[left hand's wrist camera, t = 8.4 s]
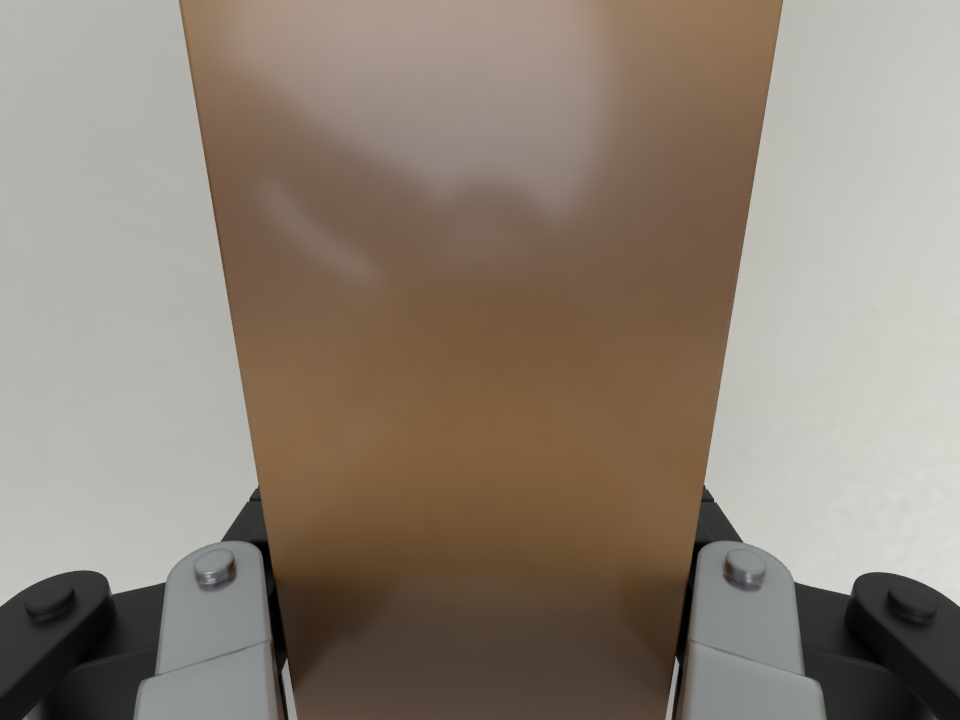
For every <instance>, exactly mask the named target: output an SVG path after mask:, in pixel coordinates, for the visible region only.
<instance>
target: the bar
mask: <svg viewBox="0 0 960 720" xmlns="http://www.w3.org/2000/svg"><path fill="white" fill-rule="evenodd" d="M179 3H180V9H181V16H182V22H183V28H184V34H185V40H186V46H187V52H188V58H189V64H190V70H191V76H192V82H193V88H194V94H195V101H196V107H197V113H198V119H199V125H200V131H201V137H202V143H203V149H204V155H205V161H206V167H207V173H208V179H209V186H210V192H211V198H212V204H213V210H214V216H215V222H216V228H217V234H218V240H219V246H220V252H221V258H222V264H223V271H224V277H225V283H226V289H227V295H228V301H229V307H230V313H231V319H232V325H233V331H234V337H235V343H236V349H237V356H238V362H239V368H240V374H241V380H242V386H243V392H244V398H245V404H246V410H247V416H248V422H249V428H250V434H251V441H252V447H253V453H254V459H255V465H256V471H257V477H258V483H259V489H260V495H261V501H262V507H263V513H264V519H265V526H266V532H267V538H268V544H269V550H270V556H271V562H272V568H273V574H274V580H275V586H276V592H277V598H278V604H279V611H280V617H281V623H282V629H283V635H284V641H285V647H286V653H287V659H288V665H289V671H290V677H291V683H292V689H293V696H294V702H295V708H296V714H297V720H665V718H666V712H667V706H668V700H669V694H670V688H671V681H672V675H673V669H674V663H675V657H676V651H677V645H678V639H679V633H680V627H681V620H682V614H683V608H684V602H685V596H686V590H687V584H688V578H689V572H690V565H691V559H692V553H693V547H694V541H695V535H696V529H697V523H698V517H699V511H700V504H701V498H702V492H703V486H704V480H705V474H706V468H707V462H708V456H709V449H710V443H711V437H712V431H713V425H714V419H715V413H716V407H717V401H718V394H719V388H720V382H721V376H722V370H723V364H724V358H725V352H726V346H727V340H728V333H729V327H730V321H731V315H732V309H733V303H734V297H735V291H736V285H737V278H738V272H739V266H740V260H741V254H742V248H743V242H744V236H745V230H746V224H747V217H748V211H749V205H750V199H751V193H752V187H753V181H754V175H755V169H756V162H757V156H758V150H759V144H760V138H761V132H762V126H763V120H764V114H765V107H766V101H767V95H768V89H769V83H770V77H771V71H772V65H773V59H774V53H775V46H776V40H777V34H778V28H779V22H780V16H781V10H782V4H783V0H179Z"/></svg>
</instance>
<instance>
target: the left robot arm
mask: <svg viewBox="0 0 960 720" xmlns="http://www.w3.org/2000/svg"><path fill="white" fill-rule="evenodd" d="M676 657H677V660H678V662H679V669H678V675H677V681H676V688H675V696H674V704H673V712H672V720H960V607H959V606H958V605H956V604H955V603H954V602H953V601H951V600H950V599H949V598H947V597H946V596H944V595H943V594H941V593H940V592H938V591H936V590H935V589H933V588H931V587H929V586H927V585H925V584H923V583H921V582H918V581H916V580H913V579H910V578H907V577H904V576H900V575H896V574H891V573H883V572H873V573H867V574H863V575H861V576H859V577H858V578H857V579H856V580H855V582H854V585H853V588H852V592H851V595H846V594H842V593H837V592H833V591H828V590H824V589H819V588H815V587H810V586H806V585H803V584H799V583H796V582H794V580H793V577H792V575H791V573H790V571H789V570H788V569H787V567H786V566H785V565H784V564H783V563H782V562H781V561H779V560H778V559H777V558H776V557H774V556H773V555H771V554H769V553H768V552H766V551H764V550H762V549H760V548H757V547H755V546H752V545H749V544H746V543H743V541H742V540H741V538H740V537H739V535H738V534H737V532H736V531H735V529H734V528H733V526H732V525H731V523H730V522H729V521H728V519H727V518H726V516H725V515H724V513H723V512H722V510H721V509H720V507H719V506H718V504H717V503H716V502H714V498H713V497H712V495H711V494H710V493H709V491H708V490H707V489H705V485H704V486H703V492H702V498H701V504H700V511H699V517H698V523H697V529H696V535H695V541H694V547H693V553H692V559H691V565H690V572H689V578H688V584H687V590H686V596H685V602H684V608H683V614H682V620H681V627H680V633H679V639H678V645H677V651H676ZM286 659H287V653H286V647H285V641H284V635H283V629H282V623H281V617H280V611H279V604H278V598H277V592H276V586H275V580H274V574H273V568H272V562H271V556H270V550H269V544H268V538H267V532H266V526H265V519H264V513H263V507H262V501H261V495H260V489H259V485H258V489H256V490H255V491H254V493H253V494H252V496H251V497H250V501H249V502H247V503H246V505H245V506H244V508H243V509H242V511H241V512H240V514H239V515H238V517H237V518H236V520H235V521H234V522H233V524H232V525H231V527H230V528H229V530H228V531H227V533H226V534H225V536H224V537H223V539H222V540H221V542H219V543H214V544H211V545H208V546H205V547H203V548H200V549H198V550H196V551H194V552H192V553H191V554H189V555H187V556H186V557H184V558H183V559H182V560H181V561H179V562H178V563H177V564H176V565H175V566H174V568H173V569H172V570H171V571H170V573H169V575H168V577H167V581H166V582H165V583H161V584H157V585H153V586H149V587H144V588H140V589H135V590H131V591H126V592H122V593H117V594H113V595H112V593H111V590H110V586H109V583H108V581H107V579H106V577H105V576H103V575H102V574H100V573H98V572H94V571H73V572H67V573H63V574H59V575H56V576H53V577H50V578H47V579H45V580H42V581H40V582H38V583H36V584H34V585H32V586H30V587H28V588H26V589H25V590H23V591H21V592H20V593H18V594H17V595H15V596H14V597H13V598H11V599H10V600H9V601H7V602H6V603H5V604H4V605H2V606H1V607H0V720H22V719H23V718H24V717H25V716H26V715H27V717H28V719H29V720H288V712H287V704H286V696H285V688H284V680H283V675H282V669H283V667H284V664H285V661H286Z"/></svg>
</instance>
